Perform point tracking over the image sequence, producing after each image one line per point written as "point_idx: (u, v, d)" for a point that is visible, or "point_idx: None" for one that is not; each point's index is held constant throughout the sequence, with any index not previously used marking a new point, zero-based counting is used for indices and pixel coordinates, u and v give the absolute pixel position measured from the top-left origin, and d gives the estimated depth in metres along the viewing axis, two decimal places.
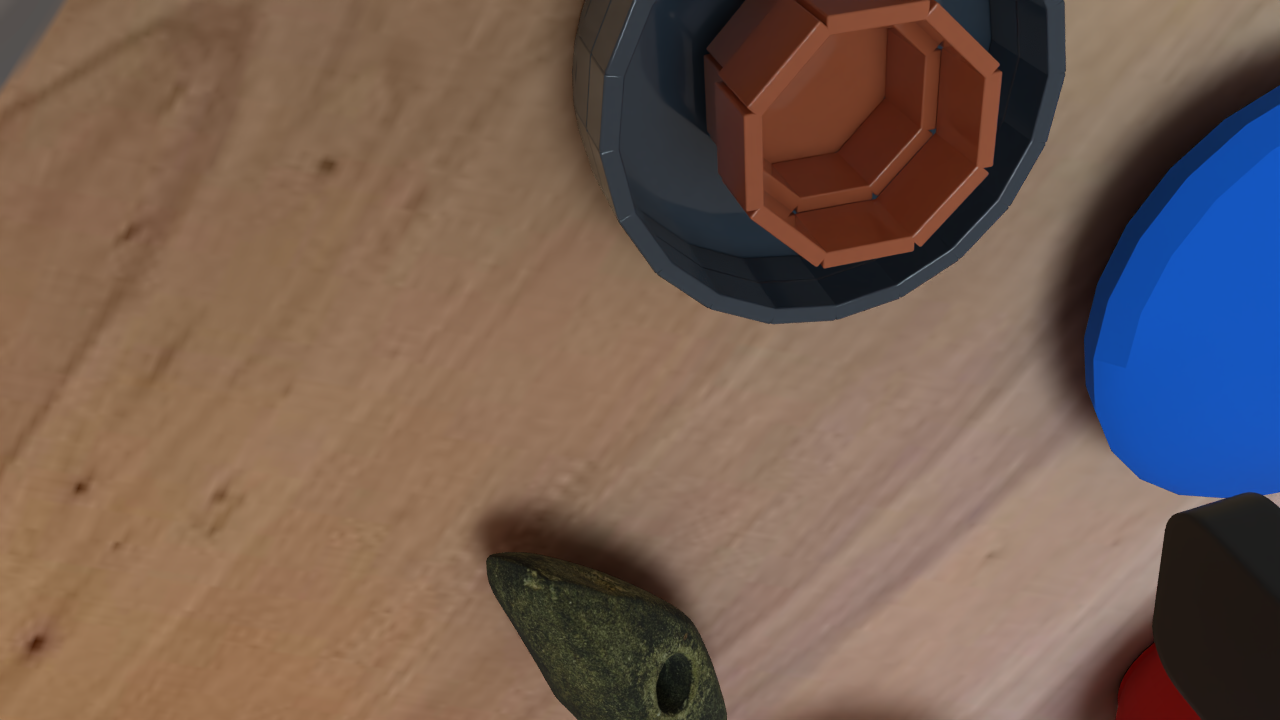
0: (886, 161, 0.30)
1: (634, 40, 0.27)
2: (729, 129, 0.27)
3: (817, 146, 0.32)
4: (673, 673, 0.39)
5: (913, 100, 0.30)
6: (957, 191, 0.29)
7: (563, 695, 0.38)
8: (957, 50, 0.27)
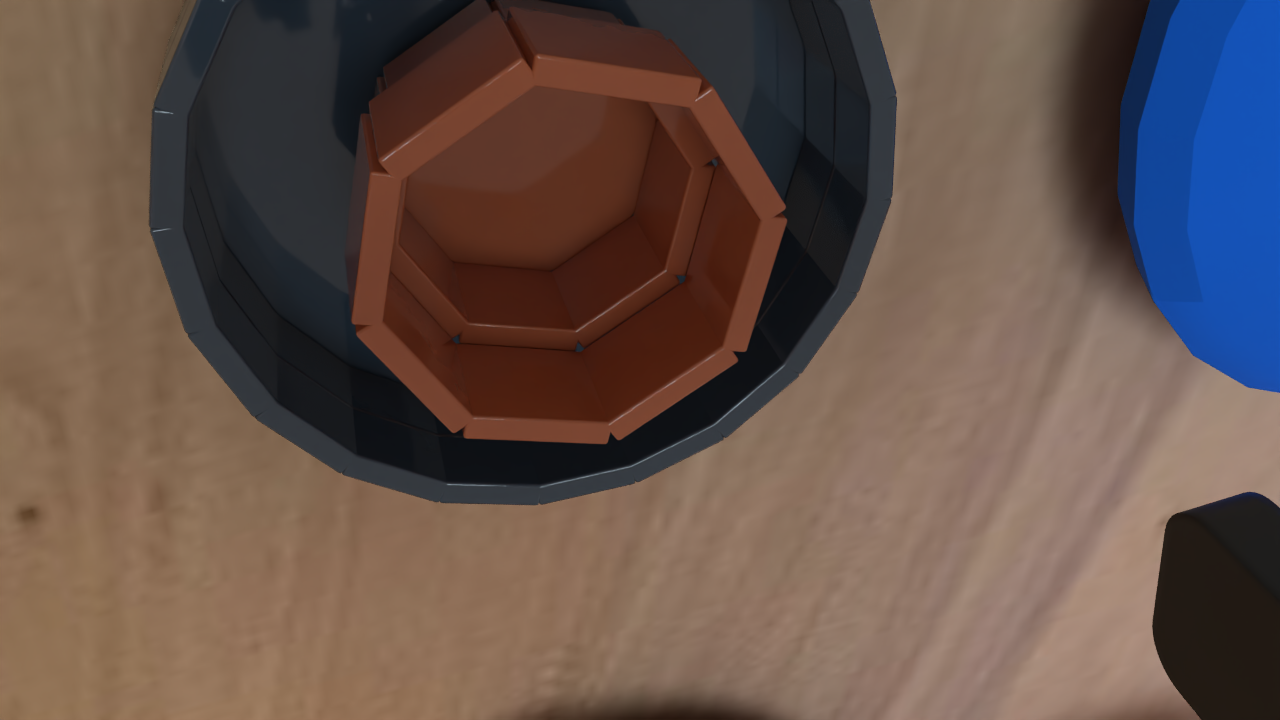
0: (672, 229, 0.20)
1: (191, 279, 0.18)
2: None
3: (601, 221, 0.22)
4: None
5: (666, 132, 0.20)
6: (752, 264, 0.18)
7: None
8: (618, 96, 0.16)
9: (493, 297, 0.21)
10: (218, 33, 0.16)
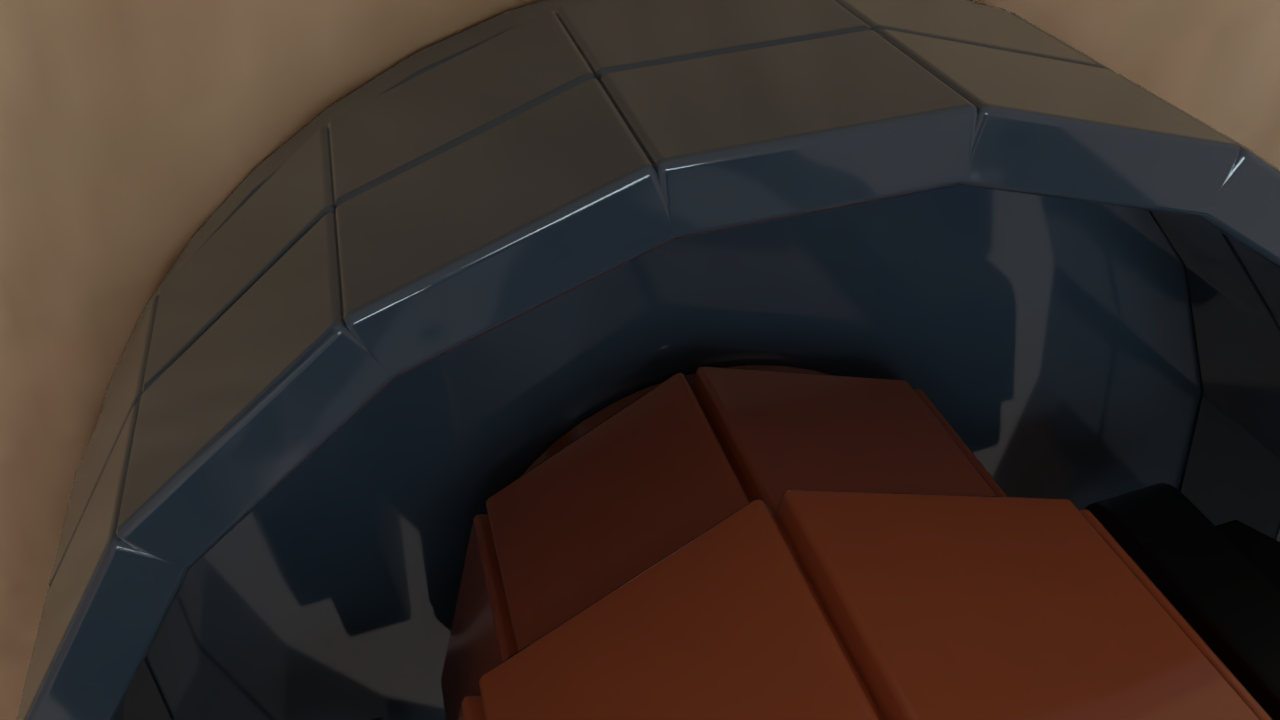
0: None
1: None
2: None
3: None
4: None
5: None
6: None
7: None
8: None
9: None
10: (152, 617, 0.07)
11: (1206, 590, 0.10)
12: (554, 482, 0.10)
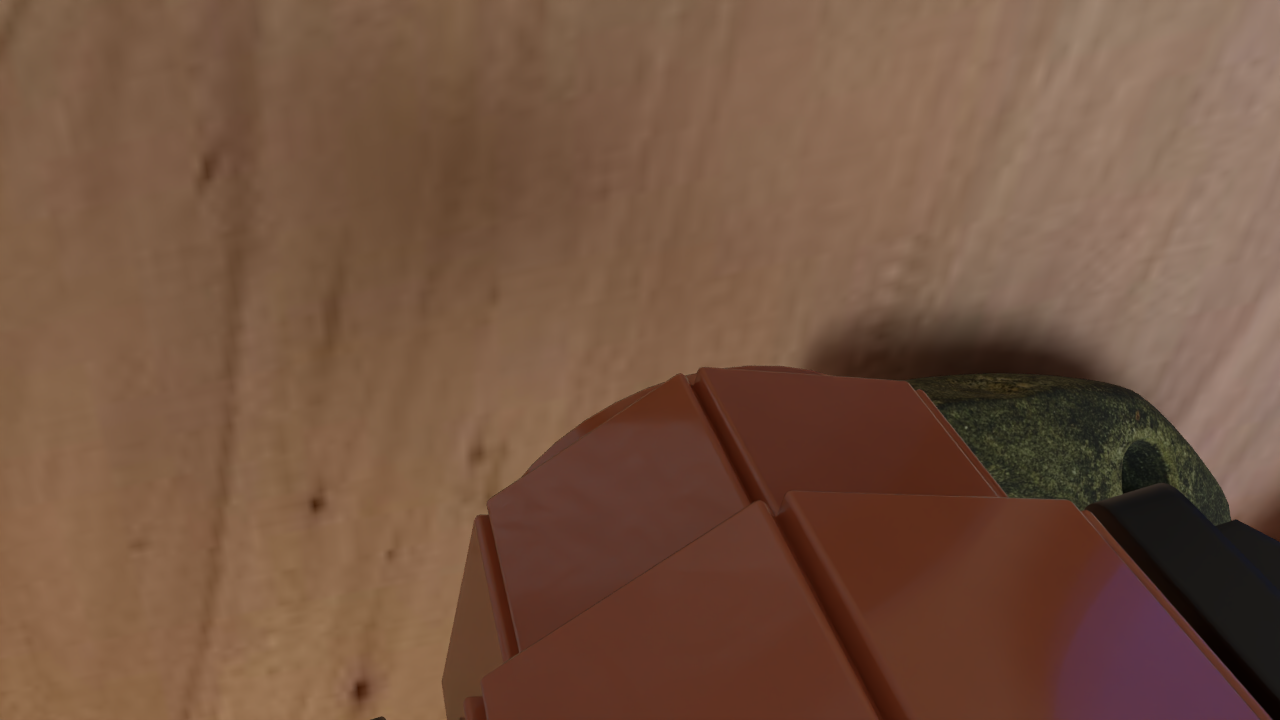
0: None
1: None
2: None
3: None
4: (1135, 468, 0.28)
5: None
6: None
7: None
8: None
9: None
10: None
11: (1206, 590, 0.10)
12: (555, 483, 0.10)
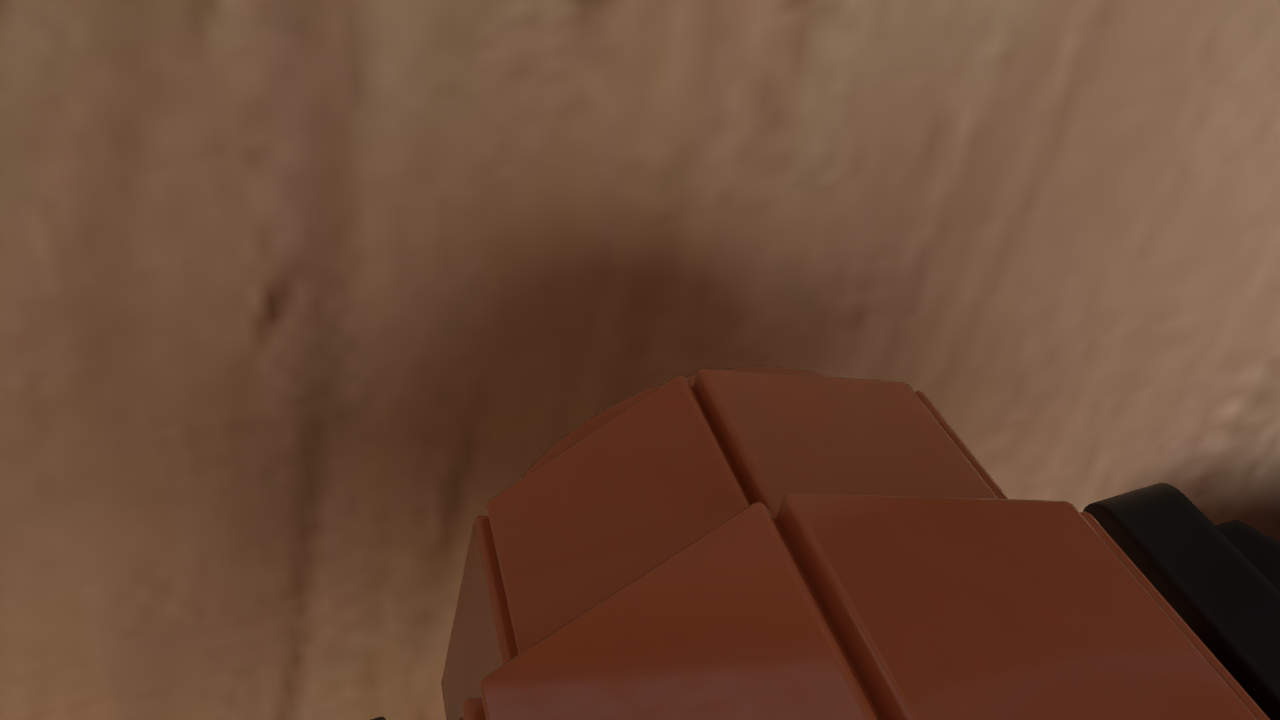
0: None
1: None
2: None
3: None
4: None
5: None
6: None
7: None
8: None
9: None
10: None
11: (1206, 590, 0.10)
12: (554, 485, 0.10)
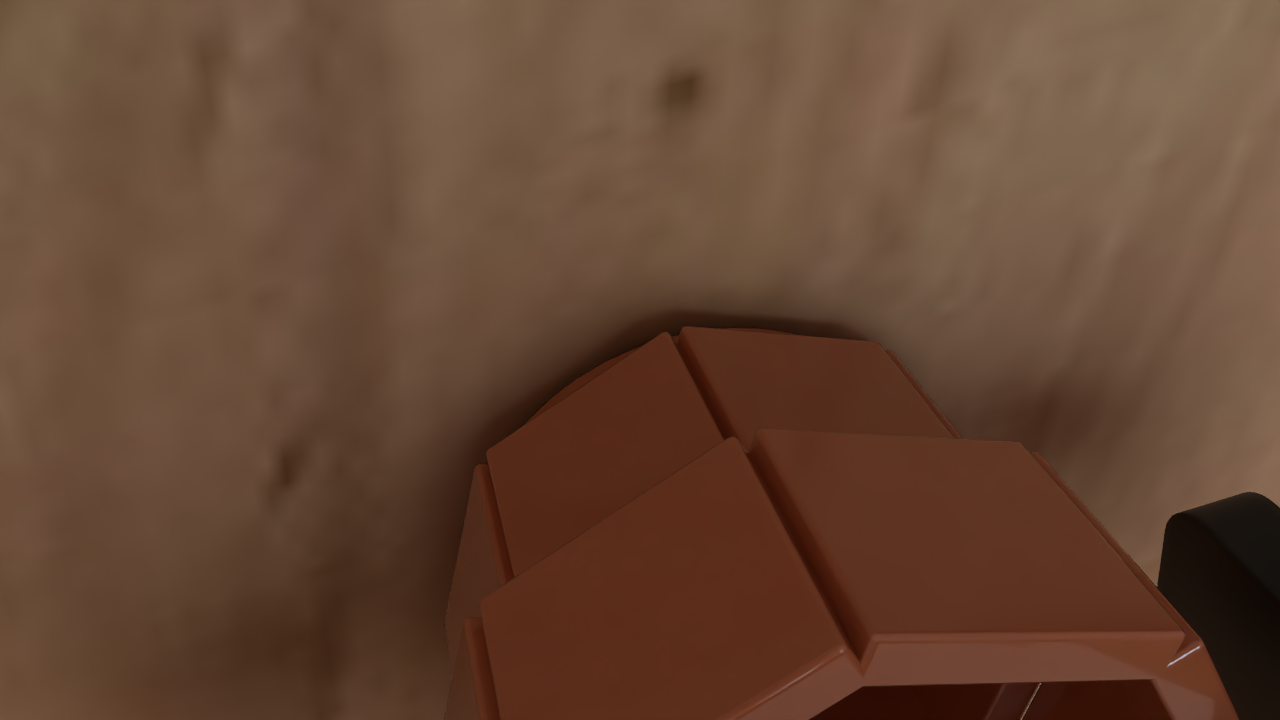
0: (978, 710, 0.12)
1: None
2: None
3: None
4: None
5: None
6: None
7: None
8: (1020, 678, 0.08)
9: None
10: None
11: None
12: (549, 432, 0.11)
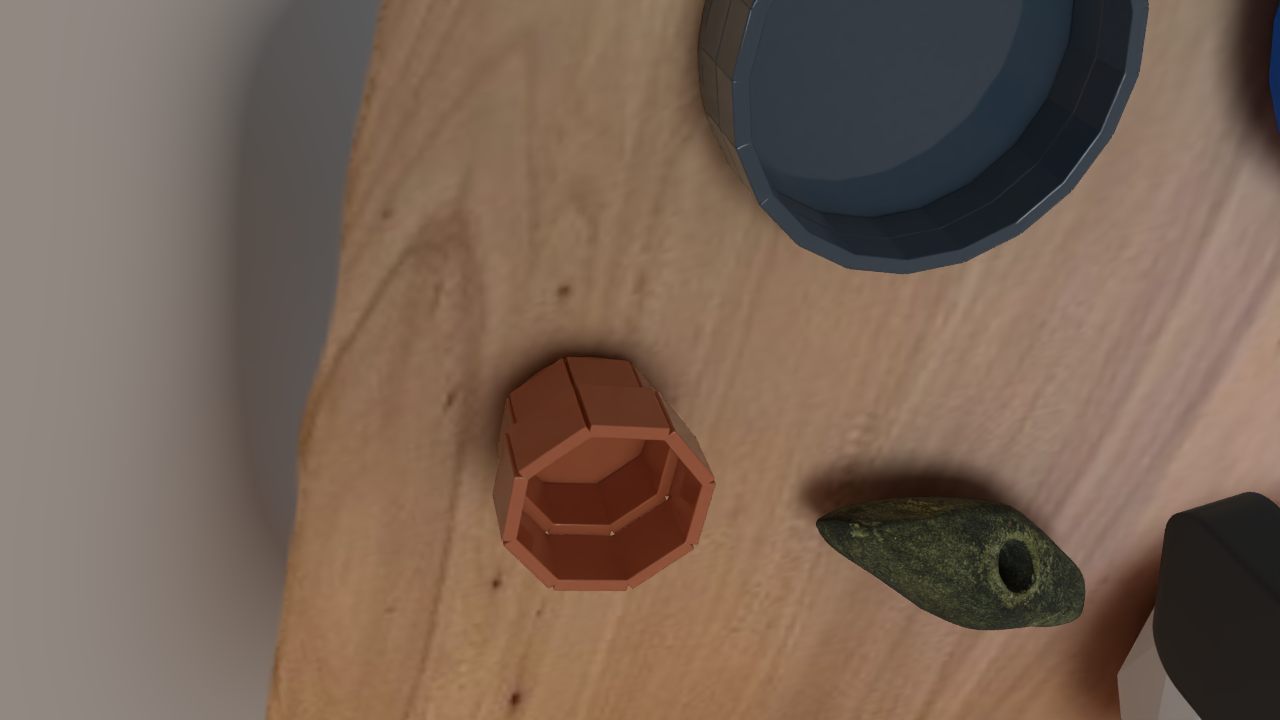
0: (660, 473, 0.38)
1: (746, 112, 0.31)
2: None
3: (624, 458, 0.40)
4: (1013, 555, 0.44)
5: None
6: (698, 504, 0.36)
7: (924, 607, 0.43)
8: (630, 438, 0.34)
9: (565, 505, 0.39)
10: None
11: None
12: (527, 387, 0.38)
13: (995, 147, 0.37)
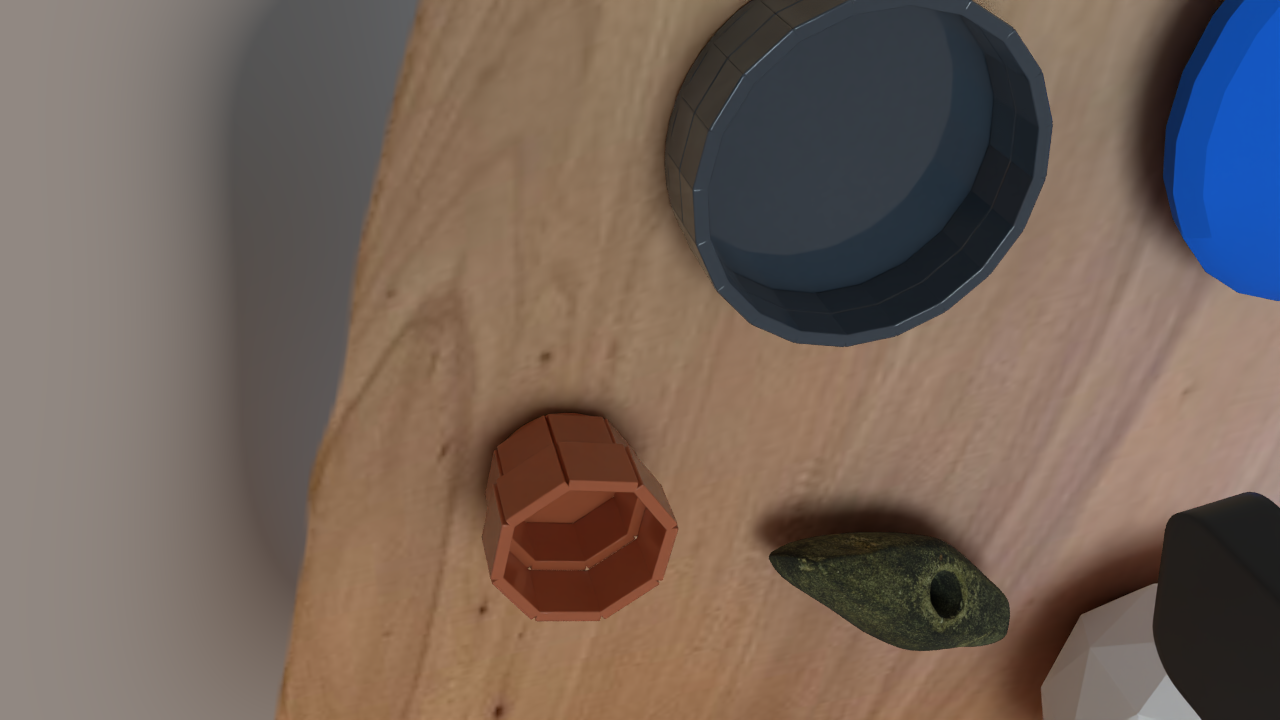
0: (630, 516, 0.43)
1: (705, 215, 0.36)
2: None
3: (598, 500, 0.45)
4: (944, 583, 0.49)
5: None
6: (663, 546, 0.41)
7: (865, 630, 0.49)
8: (603, 490, 0.39)
9: (546, 543, 0.44)
10: (744, 95, 0.35)
11: None
12: (513, 441, 0.42)
13: (925, 232, 0.42)
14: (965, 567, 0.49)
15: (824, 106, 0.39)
